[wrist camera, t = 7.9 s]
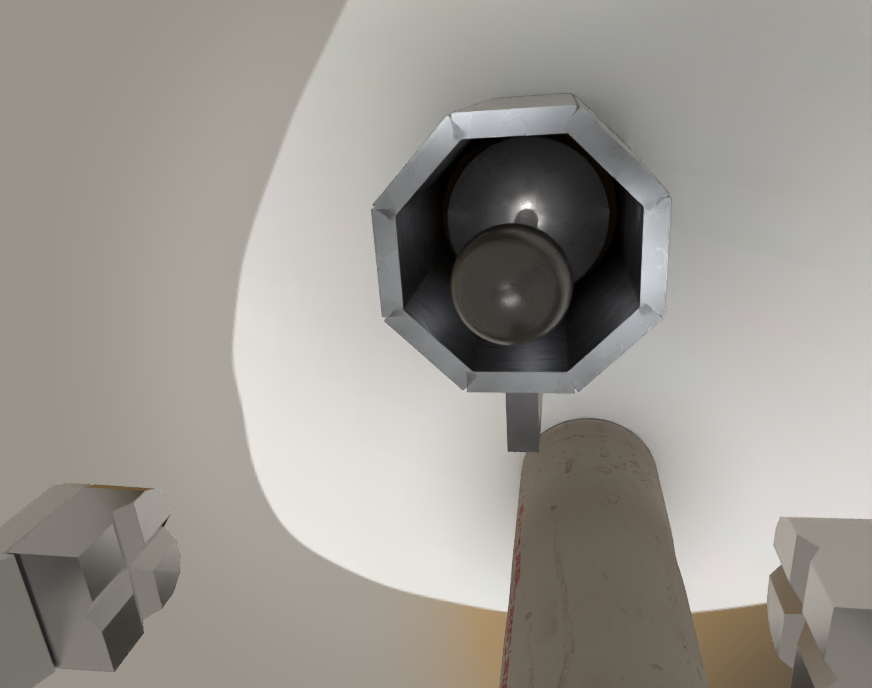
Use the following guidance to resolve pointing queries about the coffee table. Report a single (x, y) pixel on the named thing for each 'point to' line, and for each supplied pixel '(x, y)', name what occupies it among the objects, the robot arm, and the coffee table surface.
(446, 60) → the coffee table surface
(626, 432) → the thermos bottle
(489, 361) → the octagonal steel cup
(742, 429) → the coffee table surface
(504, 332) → the plunger
